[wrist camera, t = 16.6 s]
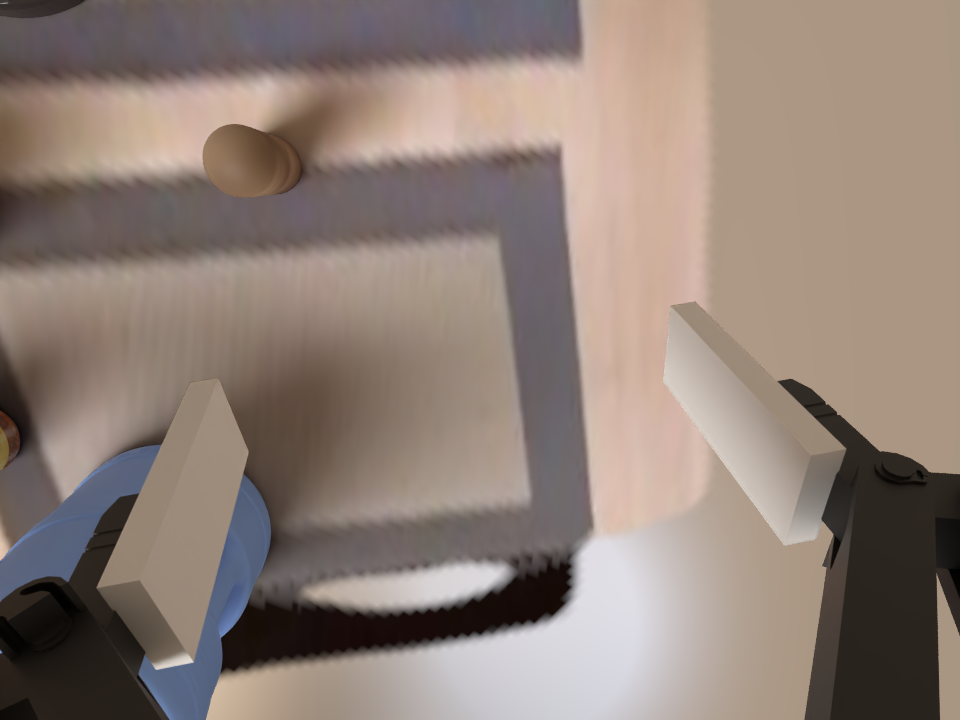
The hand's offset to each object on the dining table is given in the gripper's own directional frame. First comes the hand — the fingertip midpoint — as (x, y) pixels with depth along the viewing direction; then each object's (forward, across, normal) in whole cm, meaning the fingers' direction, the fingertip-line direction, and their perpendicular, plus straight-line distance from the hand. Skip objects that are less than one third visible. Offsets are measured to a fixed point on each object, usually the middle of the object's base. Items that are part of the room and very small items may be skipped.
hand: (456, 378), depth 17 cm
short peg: (+31, -10, 0) cm, 32 cm away
